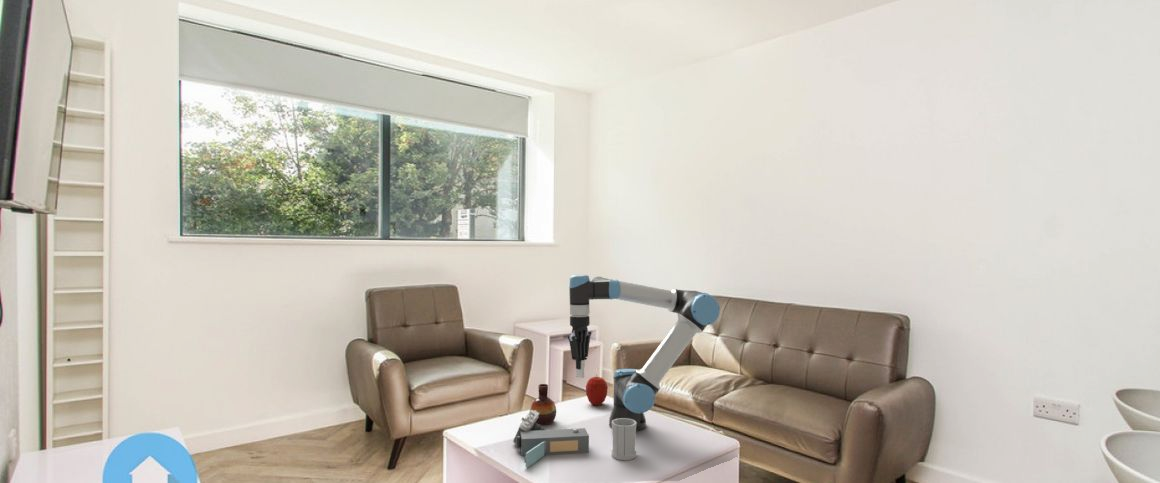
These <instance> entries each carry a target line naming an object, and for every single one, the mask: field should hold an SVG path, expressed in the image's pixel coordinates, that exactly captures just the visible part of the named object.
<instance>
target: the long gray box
mask: <svg viewBox="0 0 1160 483" xmlns="http://www.w3.org/2000/svg"><path fill="white" fill-rule="evenodd" d="M515 436H516V435H515ZM543 441H546V455H545V456H549V455H563V454H564V455H565V454H566V455H567V454H568V455H569V454H583V453H590V448H589V447H590V435H589V433H588V431H587V429H586V428H585V427H583V428H582V427H581V428H576V427H575V428H563V429H561V428H560V429H544V430H536V431H521V434H520V436H516V445H515V446H516V448H518V449H519V448H520V454H521V457H526V452H528V451H529V450H531V449H532V448H534V447H535V446H537V445H539V444H540V443H542V442H543Z"/></svg>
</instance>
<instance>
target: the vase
mask: <svg viewBox="0 0 1160 483" xmlns="http://www.w3.org/2000/svg"><path fill="white" fill-rule="evenodd" d="M537 388H538V397H536V398H535V399H533V401H532V402H531V405H530V407H529V412H530V411H531V410H533V411H534V410H536V411H537V412H538V413H539V415H538V419H537V421H536V423H537V424H539V425H540V424H541V426H546V425H547V426H548V425H551V424H553V422H554V421H555V419H556V417H557V405H556V403H555V402H554V400H552V398H550V397H549V394H548V393H549V384H547V383H540V384H538V387H537Z"/></svg>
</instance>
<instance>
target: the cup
mask: <svg viewBox="0 0 1160 483" xmlns="http://www.w3.org/2000/svg"><path fill="white" fill-rule="evenodd" d="M636 424H637V422H636V421H634V420H632V419H628V418H619V419H614V420H613V421H612V428H611V432H612V433H611V435H612V449H611V452H610V453H611V457H613V458H614V459H616V460H619V461H631V460H633V459H635V458H636V457H637V451H636V436H637V431H636Z"/></svg>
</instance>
